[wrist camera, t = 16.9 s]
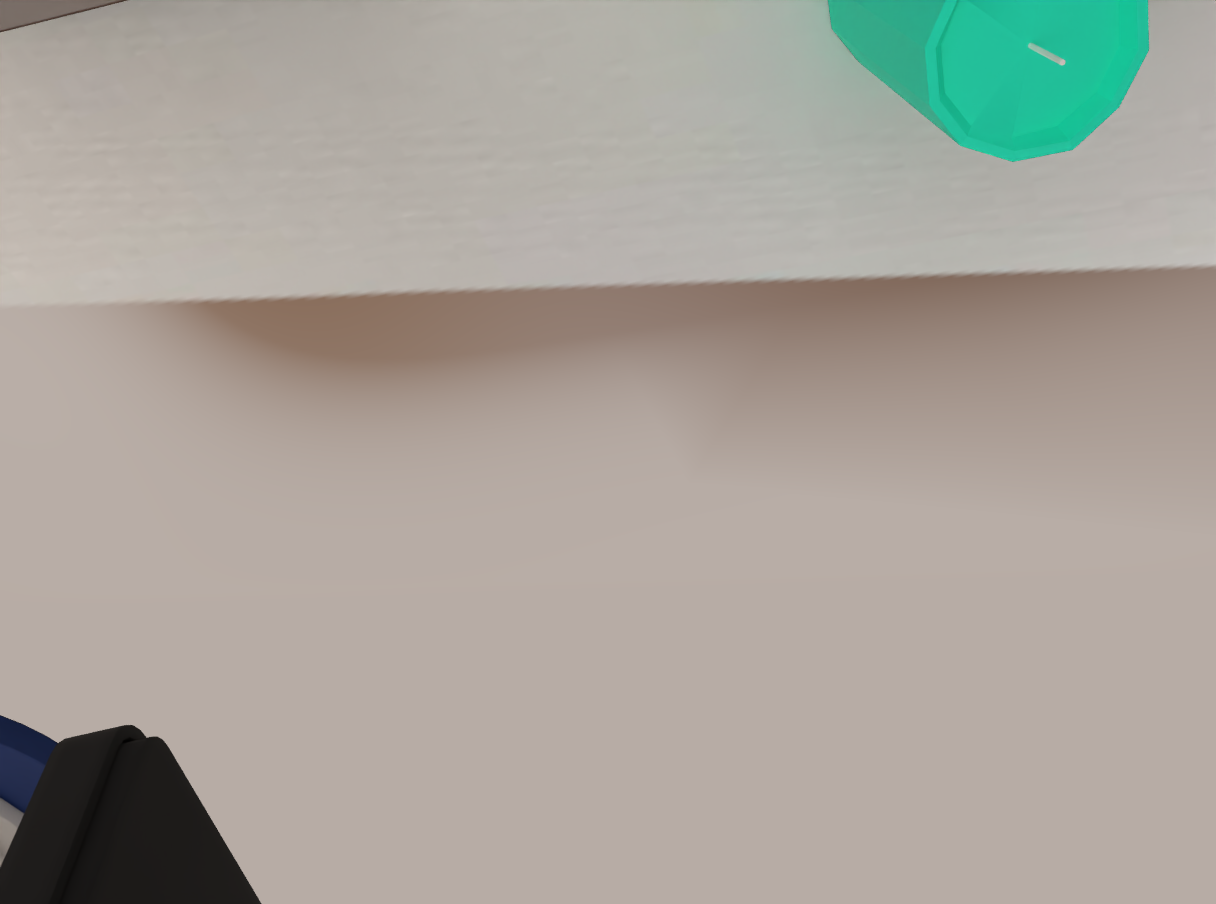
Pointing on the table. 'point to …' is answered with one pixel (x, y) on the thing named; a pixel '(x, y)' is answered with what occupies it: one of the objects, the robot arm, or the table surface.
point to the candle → (1002, 65)
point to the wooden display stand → (42, 10)
